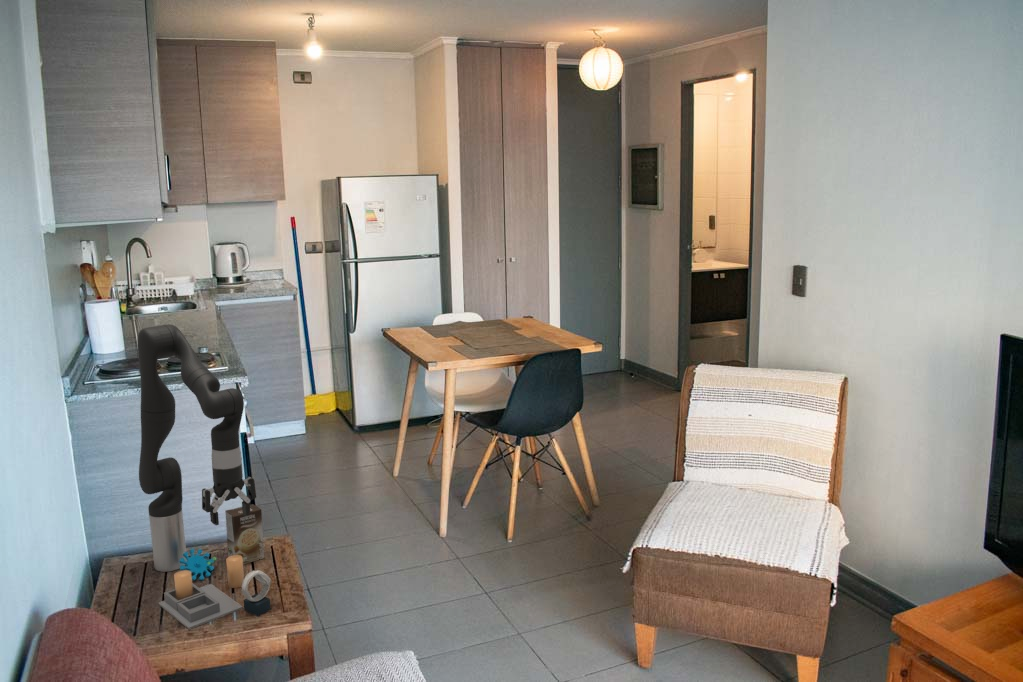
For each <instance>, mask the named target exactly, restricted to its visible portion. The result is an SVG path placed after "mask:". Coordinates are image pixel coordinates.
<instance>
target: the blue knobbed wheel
mask: <svg viewBox="0 0 1023 682" xmlns="http://www.w3.org/2000/svg"><path fill="white" fill-rule="evenodd" d="M195 552H196V550H195V548H190V550H189V552H188V551H186V552H185V553H184V554H183V556H184V557H185V558H186V559H187V562H186V561H185V560H184V558H181V559H180V561H179V562H180V563H183V564H185V566H184V565H181V566H180V569H179V571H183V570H189V571H191V575H192V574H193V575H192V582H194V581H195V580H196V579H197V575H200V576H199V577H198V580H199V581H204V579H205V577H206V578H208V577H210V576H211V575H212V573H211V572H213V570H214V569H215V566H213V564H214V563H215V562H216V560H217V557H216V556H213V557H212V558H210V559H208V558H209V557H210V553H209V552H205V553H204V554H203V555H201V554H202V553H203V549H201V548H199V549H198V550H197V553H196V554H195ZM189 554H190V556H189ZM204 573H205V576H204Z"/></svg>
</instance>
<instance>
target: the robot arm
mask: <svg viewBox="0 0 1023 682" xmlns="http://www.w3.org/2000/svg"><path fill="white" fill-rule="evenodd" d="M136 343H137V354H138V355H137V356H138V364H139V366H138V367H139V373H140V437H141V438H140V439H141V442H140V454H139V464H138V465H139V466H138V480H139V482H138V483H139V485H140V488H141V491H142V492H143V493H144V494H146V495H154V494H158V493H160V494H159V496H157V497H156V498H155V499H154V500H152V501H151V502H150V503H149V504H148V507H147V508H148V518H149V526H150V527H149V528H150V535H151V536H150V537H151V546H152V547H151V548H152V556H153V567H154V570H155V571H158V572H162V573H163V572H165V573H166V572H172V571H177V570H180V566H181V565H184V566H185V567H186V565H185V564H183V563H180V562H179V561H180V559H181V558H184V560H185V561H186V562H187V559H186V558H185V557H184V556H183V554H184V553H185V552H187V546H186V536H185V524H184V517H183V515H184V514H183V500H184V499H183V479H182V478H183V476H182V469H181V467H180V464H179V462H178V460H177V459H176V458H174V457H171V456H169V457H165V458H162V459H161V458H160V459H158V457H159V453H160V450H161V448H162V446H163V444H164V443H165V441H166V439H168V437H169V436H170V433H171V431H172V430H173V428H174V426H175V425H174V424H175V422H176V399H175V397H174V394H173V393H172V392H171V390H170V389H169V387H167V385H166V384H165V382H164V381H163V380H162V379H161V377H160V375H159V371H158V360H161V359H166V358H171V357H175V358H177V359H179V360H180V361H181V362H180V363H181V364H180V376H181V379H182V382H183V384H184V385H185V386H186V387H187V388H188V389H189V390H190V391H191V392H192V394H194V395H195V398H196V399H197V401H198V402H197V403H199V406H200V409H201V412H202V413H203V414H204V416H205V417H207V418H208V419H211V420H217V419H222V418H223V419H222V421H220V423H218V424H216V425H215V426H213V427H212V428H211V430H210V440H211V466H212V467H211V468H212V469H211V470H212V482H213V485H212V488H202V489H201V509H202V510H203V511H205V512H206V513H209V515H210V517H209V518H210V522H211V523H212V524H213V525H214V526H218V525H220V522H219V512H218V510H219V509H220V507H221V506H222V505H223V504H224V502H227V501H230V500H234V499H237V497H238V498H239V499H240V500H242V501H241V507H242V513H243V515H244V516H248V515H249V513H250V505H251V504H250V503H251V501H252V500H255V499H256V498H257V492H256V491H257V490H256V484H255V479H254V478H252V477H251V476H248V475H247V476H246V478H245V479H243V475H244V474H243V463H242V462H243V461H242V460H243V458H242V452H241V448H240V447H241V446H240V427H241V421H242V418H243V414H244V413H243V412H244V408H245V402H244V401H245V400H244V397H243V394H242V393H241V392H240V390H238V389H237V388H234V387H232V388H230V387H229V388H226V389H221V383H220V381H219V379H218V378H217V377H216V376H215V375H214V374H213V373H212V372H211V370H209V369H208V367H206V366H205V364H203V362H202V361H201V359H200V358H199V357H198V355H197V354H196V352H195V350H194V348H192V346H191V344H190V342H189V341H188V339H187V337H185V335H184V334H183V332H182V331H181V329H180V328H178V327H177V326H176V325H174V324H169V323H168V324H162V325H155V326H149V327H144V328H141V329H140V331H138V335H137V342H136ZM220 389H221V390H220ZM244 486H246V490H247V494H245V493H244V491H242V490H243V488H244ZM213 494H214V496H213ZM211 497H213V498H212V502H211Z"/></svg>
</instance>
